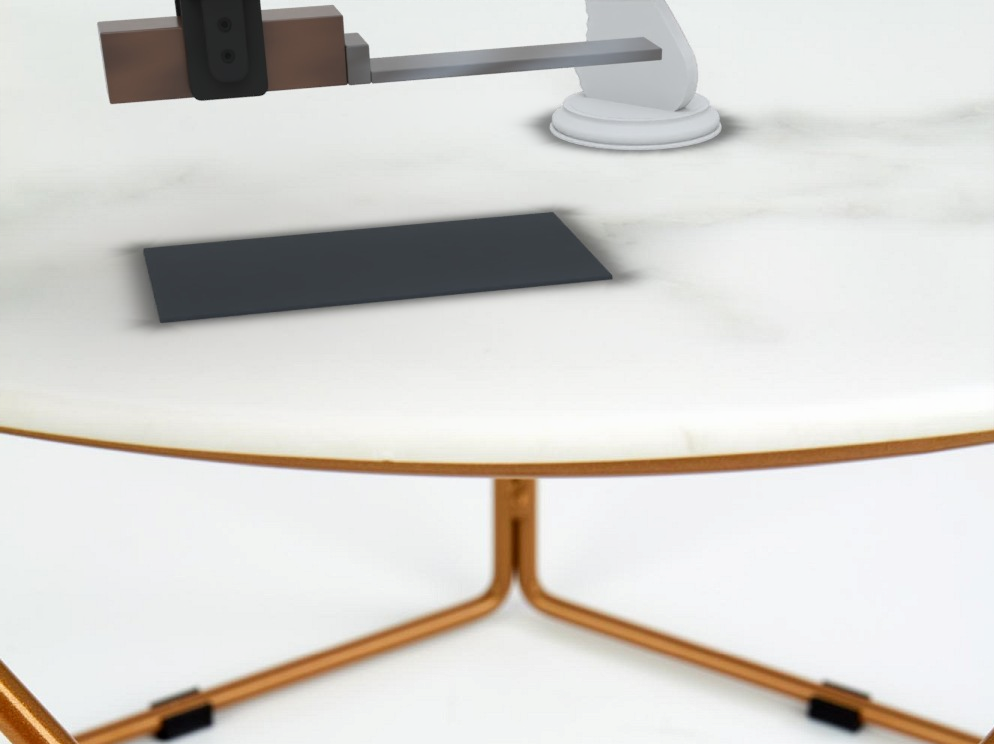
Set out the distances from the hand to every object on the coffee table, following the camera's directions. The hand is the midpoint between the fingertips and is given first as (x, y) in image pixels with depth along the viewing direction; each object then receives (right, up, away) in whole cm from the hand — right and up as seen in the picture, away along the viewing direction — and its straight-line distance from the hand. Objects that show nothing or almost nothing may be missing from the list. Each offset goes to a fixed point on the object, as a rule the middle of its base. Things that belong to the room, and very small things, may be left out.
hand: (225, 84), depth 73 cm
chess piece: (+19, +7, +26) cm, 33 cm away
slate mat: (+6, -6, +6) cm, 11 cm away
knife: (+7, +1, +1) cm, 7 cm away
